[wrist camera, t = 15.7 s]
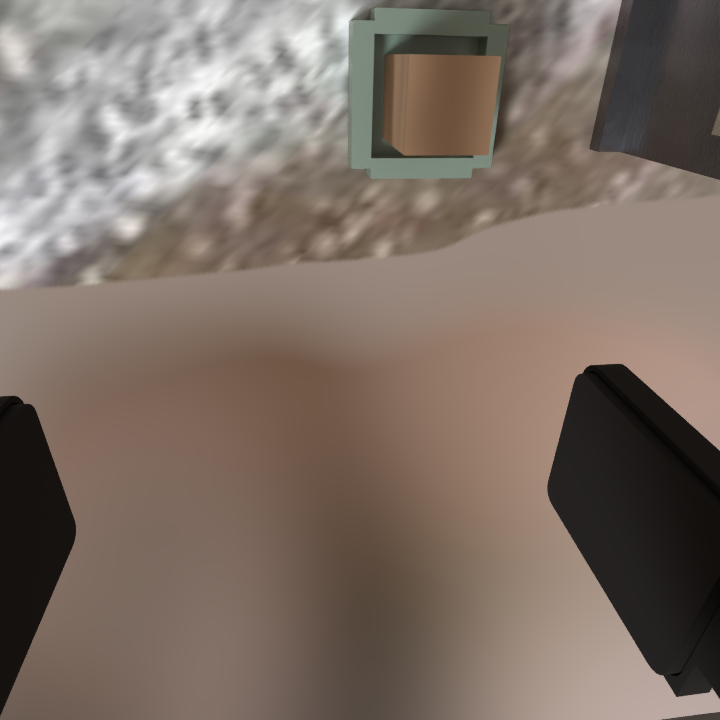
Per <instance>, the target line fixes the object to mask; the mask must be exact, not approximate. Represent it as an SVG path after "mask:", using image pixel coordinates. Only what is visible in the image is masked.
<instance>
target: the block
mask: <svg viewBox="0 0 720 720" xmlns="http://www.w3.org/2000/svg"><path fill="white" fill-rule="evenodd" d="M501 57H502V56H472V55H427V54H391V55H385V63H384V91H383V118H382V138H383V139H384V140H386V141H387V142H388V143H389V144H390V145H392V146H393V147H394V148H395V149H397V150H398V151H399V152H400V153H402V154H403V155H404V156H408V155H489V148H490V140H491V132H492V125H493V117H494V110H495V102H496V95H497V87H498V79H499V72H500V64H501Z"/></svg>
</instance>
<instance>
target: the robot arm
mask: <svg viewBox="0 0 720 720" xmlns="http://www.w3.org/2000/svg"><path fill="white" fill-rule="evenodd" d="M547 487H548V496H549V499H550V502H551V504H552V506H553V507H554V509H555V510H556V512H557V514H558V515H559V517H560V519H561V520H562V522H563V524H564V525H565V527H566V529H567V530H568V532H569V533H570V535H571V537H572V539H573V540H574V542H575V543H576V545H577V547H578V549H579V550H580V552H581V554H582V555H583V557H584V558H585V560H586V562H587V563H588V565H589V567H590V568H591V570H592V572H593V573H594V575H595V577H596V578H597V580H598V582H599V583H600V585H601V587H602V588H603V590H604V592H605V593H606V595H607V597H608V598H609V600H610V602H611V603H612V605H613V607H614V608H615V610H616V611H617V613H618V615H619V616H620V618H621V620H622V621H623V623H624V625H625V626H626V628H627V630H628V631H629V633H630V635H631V636H632V638H633V640H634V641H635V643H636V645H637V646H638V648H639V650H640V651H641V653H642V654H643V656H644V658H645V660H646V661H647V663H648V664H649V666H650V667H651V668H652V670H654V671H655V672H656V673H657V674H659V675H663V676H664V677H665V679H666V681H667V682H668V684H669V685H670V687H671V688H672V690H673V692H674V694H675V695H676V697H679V696H686V695H693V694H701V693H708V692H710V690H711V688H713V690H714V691H715V692H716V694H717V695H718V697H719V698H720V451H719V450H718V449H717V448H716V447H715V446H713V444H711V443H710V442H709V441H708V440H707V439H706V438H705V437H704V436H703V435H701V434H700V433H699V432H698V431H697V430H696V429H695V428H694V427H693V426H691V425H690V424H689V423H688V422H687V421H686V420H685V419H684V418H683V417H681V416H680V415H679V414H678V413H677V412H676V411H675V410H674V409H673V408H671V407H670V406H669V405H668V404H667V403H666V402H665V401H664V400H663V399H661V398H660V397H659V396H658V395H657V394H656V393H655V392H653V390H651V389H650V388H649V387H648V386H647V385H646V384H645V383H644V382H643V381H641V380H640V379H639V378H638V377H637V376H636V375H635V374H634V373H632V372H631V371H630V370H629V369H628V368H627V367H626V366H624V365H622V364H607V365H590V366H588V367H587V368H586V369H585V370H584V372H583V374H579V375H578V376H577V377H576V378H575V381H574V385H573V388H572V392H571V396H570V400H569V404H568V407H567V411H566V415H565V419H564V423H563V427H562V431H561V434H560V438H559V442H558V446H557V450H556V453H555V457H554V461H553V465H552V469H551V473H550V476H549V480H548V486H547ZM75 536H76V525H75V520H74V518H73V514H72V512H71V509H70V506H69V503H68V501H67V497H66V495H65V492H64V489H63V486H62V483H61V480H60V478H59V475H58V472H57V469H56V467H55V463H54V461H53V458H52V455H51V452H50V450H49V446H48V444H47V441H46V438H45V435H44V432H43V429H42V426H41V424H40V421H39V418H38V415H37V413H36V410H35V408H34V407H33V406H32V405H30V404H24V403H23V401H22V400H21V399H20V398H19V397H17V396H2V397H0V715H1V713H2V711H3V708H4V706H5V703H6V701H7V699H8V696H9V694H10V692H11V689H12V687H13V685H14V682H15V680H16V678H17V675H18V673H19V671H20V668H21V666H22V664H23V661H24V659H25V657H26V654H27V652H28V650H29V647H30V645H31V643H32V640H33V638H34V636H35V633H36V631H37V629H38V626H39V624H40V622H41V619H42V617H43V614H44V612H45V610H46V607H47V605H48V603H49V600H50V598H51V596H52V593H53V591H54V589H55V586H56V584H57V582H58V579H59V577H60V575H61V572H62V570H63V568H64V565H65V563H66V560H67V558H68V556H69V554H70V551H71V549H72V546H73V544H74V541H75ZM663 720H720V712H717V713H708V714H701V715H693V716H685V717H678V718H671V719H663Z"/></svg>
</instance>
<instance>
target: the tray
mask: <svg viewBox="0 0 720 720" xmlns="http://www.w3.org/2000/svg"><path fill="white" fill-rule="evenodd" d="M490 15H491V11H470V10H440V9H409V8H379V7H375V8H373V9H371V10H370V20H352V21H350V22H349V89H348V164H349V165H350V167H351V169H366V173H367V174H368V176H369V177H370V179H399V178H471V176H472V168H491V161H492V154H493V147H494V139H495V132H496V124H497V117H498V110H499V102H500V95H501V87H502V80H503V73H504V65H505V58H506V50H507V43H508V36H509V28H510V25H507V24H490ZM391 54H427V55H472V56H502V57H501V64H500V72H499V79H498V87H497V95H496V102H495V110H494V117H493V125H492V132H491V140H490V148H489V155H408V156H404V155H403V154H402V153H400V152H399V151H398V150H397V149H395V148H394V147H393V146H392V145H390V144H389V143H388V142H387V141H386V140H384V139H383V138H382V118H383V91H384V63H385V55H391Z"/></svg>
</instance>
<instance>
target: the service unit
mask: <svg viewBox="0 0 720 720" xmlns="http://www.w3.org/2000/svg"><path fill="white" fill-rule="evenodd" d="M590 149H591V150H594V151H598V152H622V153H626V154H630V155H633V156H637V157H640V158H644V159H647V160H651V161H654V162H658V163H662V164H665V165H669V166H672V167H676V168H679V169H683V170H686V171H690V172H694V173H697V174H701V175H704V176H708V177H711V178H715V179H719V180H720V0H622V4H621V8H620V13H619V17H618V22H617V26H616V31H615V35H614V40H613V44H612V49H611V53H610V58H609V63H608V67H607V72H606V76H605V81H604V85H603V90H602V94H601V99H600V103H599V108H598V112H597V117H596V121H595V126H594V131H593V135H592V140H591V144H590Z"/></svg>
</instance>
